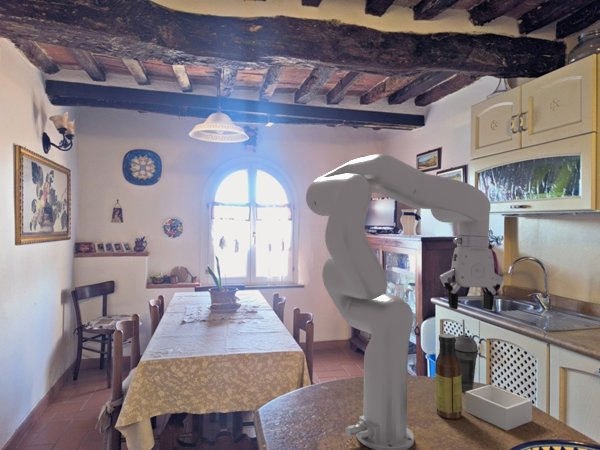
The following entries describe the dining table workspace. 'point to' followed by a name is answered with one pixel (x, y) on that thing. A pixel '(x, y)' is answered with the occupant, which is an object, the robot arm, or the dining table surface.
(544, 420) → the dining table surface
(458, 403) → the sauce bottle
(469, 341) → the beverage cup
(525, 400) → the box
